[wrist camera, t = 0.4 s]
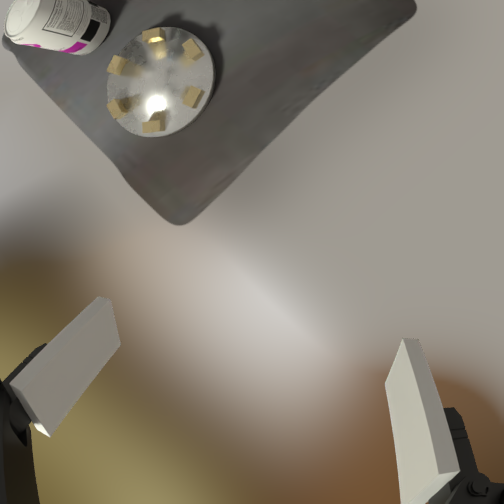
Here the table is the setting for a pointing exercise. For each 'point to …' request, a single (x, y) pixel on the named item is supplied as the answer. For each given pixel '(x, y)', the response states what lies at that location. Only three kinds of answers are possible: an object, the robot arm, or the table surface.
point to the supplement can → (57, 24)
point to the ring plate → (160, 82)
